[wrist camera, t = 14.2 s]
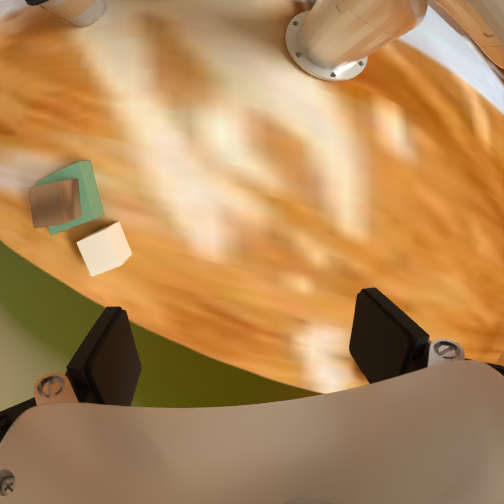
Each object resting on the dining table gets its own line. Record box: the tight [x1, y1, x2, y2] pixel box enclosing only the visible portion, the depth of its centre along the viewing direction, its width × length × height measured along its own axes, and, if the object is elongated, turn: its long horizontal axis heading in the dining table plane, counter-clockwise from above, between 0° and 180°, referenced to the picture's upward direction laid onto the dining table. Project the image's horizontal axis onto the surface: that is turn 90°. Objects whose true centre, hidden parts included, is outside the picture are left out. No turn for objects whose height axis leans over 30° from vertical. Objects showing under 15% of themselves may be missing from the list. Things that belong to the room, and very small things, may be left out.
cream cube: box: [77, 222, 132, 277], centre depth 35 cm, size 5×5×5 cm
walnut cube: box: [29, 178, 82, 228], centre depth 28 cm, size 5×5×5 cm
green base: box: [36, 161, 105, 236], centre depth 33 cm, size 8×8×4 cm
